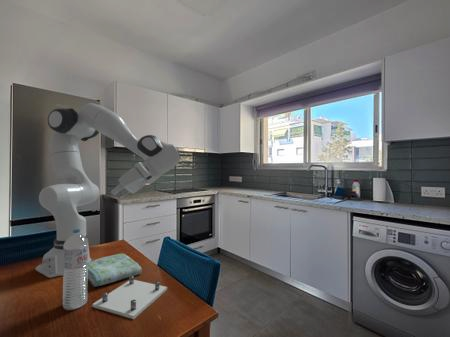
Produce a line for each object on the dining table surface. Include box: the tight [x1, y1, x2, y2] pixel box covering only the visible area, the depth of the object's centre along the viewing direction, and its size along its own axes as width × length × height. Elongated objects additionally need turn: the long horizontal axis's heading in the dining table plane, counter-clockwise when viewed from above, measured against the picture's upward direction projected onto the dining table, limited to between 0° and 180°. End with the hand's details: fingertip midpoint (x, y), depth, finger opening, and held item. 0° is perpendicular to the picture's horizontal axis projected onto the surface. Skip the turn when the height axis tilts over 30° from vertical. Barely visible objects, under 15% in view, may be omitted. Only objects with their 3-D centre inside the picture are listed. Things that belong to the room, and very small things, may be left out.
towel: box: [88, 253, 143, 288], centre depth 93 cm, size 18×21×5 cm
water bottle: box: [62, 229, 89, 311], centre depth 71 cm, size 7×7×25 cm
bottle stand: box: [92, 276, 168, 320], centre depth 75 cm, size 17×17×4 cm
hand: (115, 195), depth 81 cm, fingers open, 8 cm apart
